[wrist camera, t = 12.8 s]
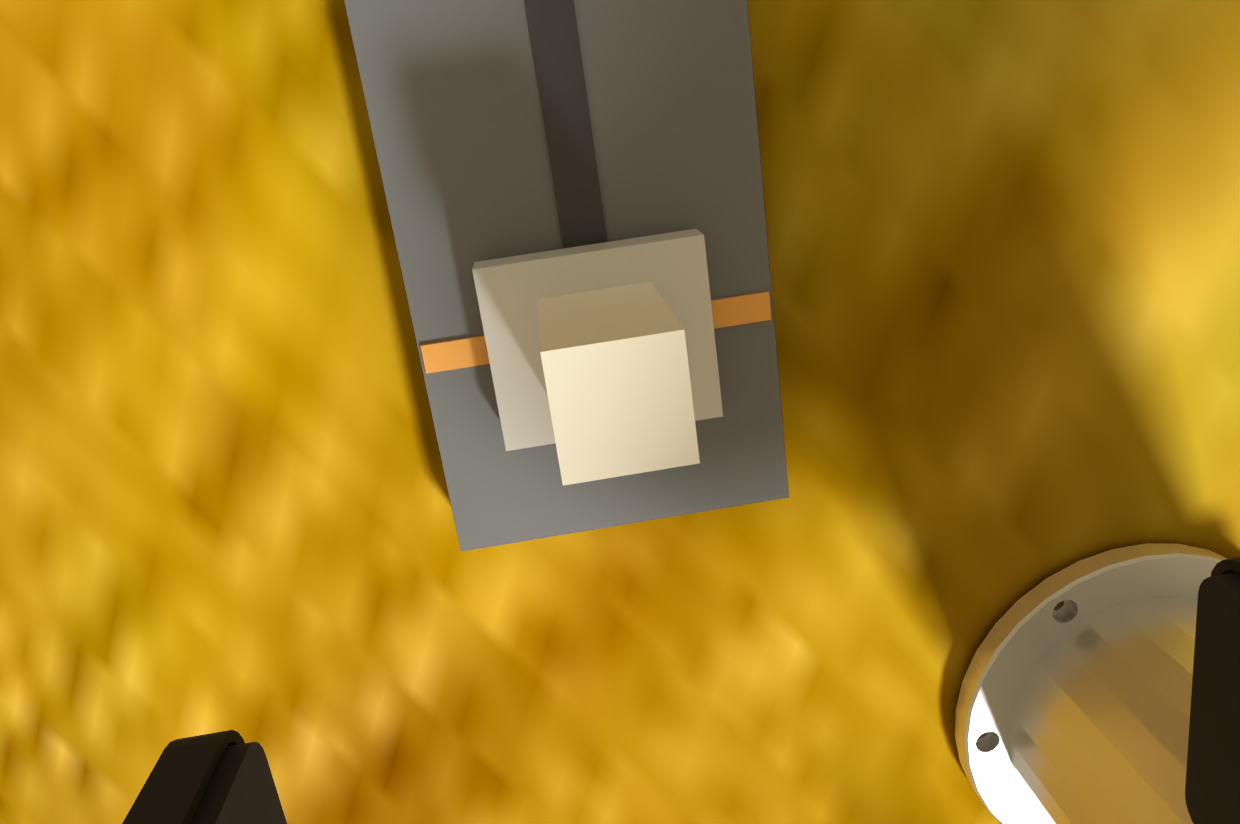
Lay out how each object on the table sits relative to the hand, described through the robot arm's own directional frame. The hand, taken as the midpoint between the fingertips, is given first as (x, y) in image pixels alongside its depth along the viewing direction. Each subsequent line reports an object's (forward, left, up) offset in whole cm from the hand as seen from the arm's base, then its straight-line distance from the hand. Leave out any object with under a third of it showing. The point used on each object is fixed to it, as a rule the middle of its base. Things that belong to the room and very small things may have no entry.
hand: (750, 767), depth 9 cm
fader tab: (0, 0, -18) cm, 18 cm away
